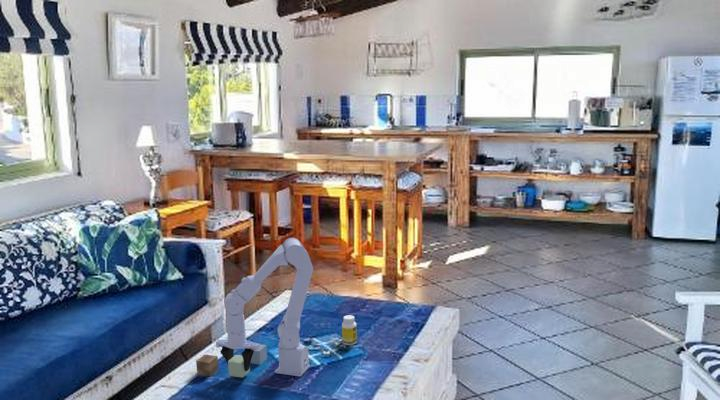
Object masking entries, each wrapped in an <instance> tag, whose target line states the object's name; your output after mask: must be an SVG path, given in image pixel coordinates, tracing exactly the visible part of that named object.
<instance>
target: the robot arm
mask: <svg viewBox="0 0 720 400" xmlns="http://www.w3.org/2000/svg"><path fill="white" fill-rule="evenodd" d="M288 263H290V265H293V266H294V268H295V269H296V273H295V278H294V282H293V286H292V288H291V292H290V296H289V301H288V304H287V308H286V311H285V312H286V313H285V314H284V315H283V317H282V319H281V322H280V323H279V324H278V325H277V334H278V338H279V341H278V342H277V343H278V344H277V348H278V349H277V350H278V363H279V364H278V365H279V366H278V368H277V369H275V370H274V373H275V374H280V375H286V376H287V375H288V376H295V377H302V376H303V374H305V372H306V371H308V369H309V368H310V366H311V365H310V360H309V347H307V345H304V344H302V343H301V342H300V341H301V336H300V329H301V318H302V314H303V310H304V306H305V302H306V298H307V294H308V291H309V287H310V285H311V284H310V283H311V279H312V275H313V272H314V266H313V263H312V261H311V258H310V255H309V253H308V251H307V249H306V248H305V246H304V245H303V244H302V242H301V241H300V240H299V239H298V238H296V237H289V238H287V239H285V240H284V242H283V243H282V244H280V245H279V246H278V247H277V248H276V250H274V252H273V253H272V254H271V255H270V256H269V257H268V258H267V259H266V260H265V262H264V263H263V264H262V265H261V266H260V267H259V269H258V270H257V271H256V272H255V273H254V274H252V275H247V276H246V277H243V278H241V282H240V284H238V285H237V287H235V289H232V290H231V291H230V292H229V293H227V295H226V296H225V298H224V300H223V301H224V308H225V316H226V317H225V319H226V320H225V322H226V323H225V324H226V333H227V339H217V341H215V347H216V348H221V350H220V351H219V352H220V355H222V357H223V358H224V360H225V362H226V365H228V361H229V360H230V359H231V358H232V357H233V356H234V351H235V350H243V351H242V352H241V355H242V357H243V360H244V369H245V371H248V370H249V369H250V370H251V363H250V362H251V358H252V355H253V353H254V351H258V350H259V344H260V343H259V342H258V343H257V342H253V341H250V340H247V335H246V324H245V323H246V321H245V315H244V309H245V304H247V303H248V302H249V301H250V300H251V299H252V298H253V297H254V296H255V295H256V294H257V293H258V292H259V291H260V290H261V288H262V282H264V281H265V280H266V278H268V277H269V275H271V274H272V273H273V272H274V271H275V270H276V269H277V268H278V267H281V266H288V265H289V264H288Z"/></svg>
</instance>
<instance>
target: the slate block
mask: <svg viewBox="0 0 720 400" xmlns="http://www.w3.org/2000/svg"><path fill="white" fill-rule="evenodd" d="M267 359H268V351H267V344H261V343H259V350H258V351H254V353H253V355H252V358H251V362H250V364H251V363H252V365H253V364H254V365H260V366H261V365H262V364H263V363H264V362H265V361H266V360H267Z"/></svg>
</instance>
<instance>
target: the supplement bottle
mask: <svg viewBox="0 0 720 400" xmlns="http://www.w3.org/2000/svg"><path fill="white" fill-rule="evenodd" d="M357 325H358V324H357V322H356V319H355V316H354V315H351V314H348V315H344V316H343V322H342V324H341V341H342V342H341V343H342V344H343V345H346V346H353V345H355V344H357V342H358V332H357V331H358V329H357V327H358V326H357Z"/></svg>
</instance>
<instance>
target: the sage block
mask: <svg viewBox="0 0 720 400" xmlns="http://www.w3.org/2000/svg"><path fill="white" fill-rule="evenodd" d="M227 367H228V376H229V377H235V378H244V377H246V375H248V373H249V372H250V371H251V368H250V369H249V370H248V371H245V369H244V360H243V357H242V354H241V355H240V354H234V355H233V357H232V358H231V359H230V360H229V361H228V364H227Z"/></svg>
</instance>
